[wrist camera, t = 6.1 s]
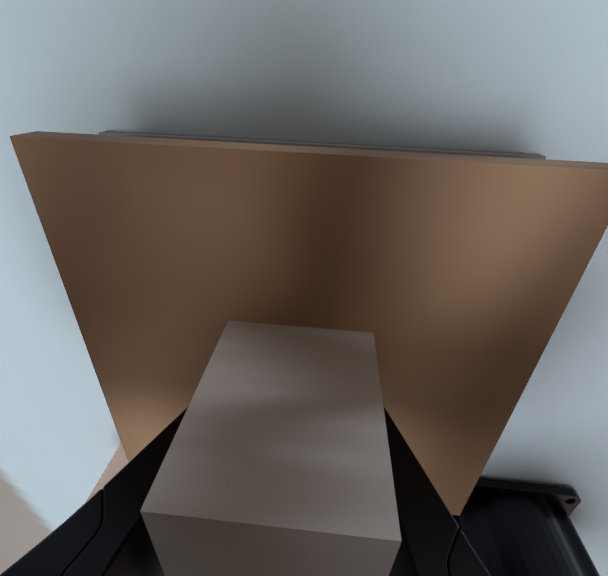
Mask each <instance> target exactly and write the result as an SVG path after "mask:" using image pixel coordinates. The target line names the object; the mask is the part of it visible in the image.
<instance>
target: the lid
mask: <svg viewBox="0 0 608 576" xmlns="http://www.w3.org/2000/svg"><path fill="white" fill-rule="evenodd" d="M10 139H11V141H12V144H13V147H14V150H15V152H16V155H17V158H18V161H19V163H20V166H21V169H22V172H23V174H24V177H25V180H26V183H27V185H28V188H29V191H30V194H31V196H32V199H33V202H34V204H35V207H36V210H37V213H38V215H39V218H40V221H41V224H42V226H43V229H44V232H45V235H46V237H47V240H48V243H49V246H50V248H51V251H52V254H53V257H54V259H55V262H56V265H57V268H58V270H59V273H60V276H61V279H62V281H63V284H64V287H65V289H66V292H67V295H68V298H69V300H70V303H71V306H72V309H73V311H74V314H75V317H76V320H77V322H78V325H79V328H80V331H81V333H82V336H83V339H84V342H85V344H86V347H87V350H88V353H89V355H90V358H91V361H92V364H93V366H94V369H95V372H96V375H97V377H98V380H99V383H100V385H101V388H102V391H103V394H104V396H105V399H106V402H107V405H108V407H109V410H110V413H111V416H112V418H113V421H114V424H115V427H116V429H117V432H118V435H119V438H120V440H121V443H122V446H123V449H124V451H125V454H126V457H127V460H128V462H130V461H131V460H132V459H133V458H134V457H135V456H136V455H137V454H138V453H139V452H140V451H141V450H142V449H144V448H145V447H146V446H147V445H148V444H149V443H150V442H151V441H152V440H153V439H154V438H155V437H156V436H157V435H158V434H159V433H161V432H162V431H163V430H164V429H165V428H166V427H167V426H168V425H169V424H170V423H171V422H172V421H173V420H174V419H175V418H176V417H178V416H179V415H180V414H181V413H182V412H183V411H184V410H185V409H186V408H187V407H188V408H187V411H186V413H185V415H184V417H183V419H182V421H181V423H180V426H179V428H178V430H177V432H176V434H175V436H174V439H173V441H172V443H171V445H170V447H169V449H168V452H167V454H166V456H165V458H164V460H163V462H162V465H161V467H160V469H159V471H158V473H157V475H156V478H155V480H154V482H153V484H152V486H151V488H150V491H149V493H148V495H147V497H146V499H145V501H144V504H143V506H142V508H141V510H140V512H141V515H142V517H143V520H144V523H145V525H146V528H147V530H148V533H149V536H150V538H151V541H152V544H153V546H154V549H155V551H156V554H157V557H158V559H159V562H160V565H161V567H162V570H163V572H164V575H165V576H389V574H390V571H391V568H392V566H393V563H394V560H395V558H396V555H397V552H398V550H399V547H400V544H401V542H402V541H401V533H400V526H399V518H398V511H397V503H396V496H395V489H394V481H393V474H392V466H391V459H390V451H389V444H388V436H387V429H386V421H385V414H384V407H385V409H386V410H387V412H388V413H389V415H390V417H391V418H392V420H393V421H394V423H395V425H396V426H397V428H398V429H399V431H400V433H401V434H402V436H403V437H404V439H405V441H406V442H407V444H408V445H409V447H410V449H411V450H412V452H413V453H414V455H415V457H416V458H417V460H418V461H419V463H420V465H421V466H422V468H423V470H424V471H425V473H426V474H427V476H428V478H429V479H430V481H431V482H432V484H433V486H434V487H435V489H436V490H437V492H438V494H439V495H440V497H441V498H442V500H443V502H444V503H445V505H446V506H447V508H448V510H449V511H450V513H451V514H452V515H457V516H460V514H461V512H462V510H463V508H464V506H465V504H466V502H467V500H468V498H469V496H470V494H471V492H472V490H473V488H474V487H475V485H476V483H477V481H478V479H479V477H480V475H481V473H482V471H483V469H484V467H485V465H486V463H487V461H488V459H489V457H490V455H491V453H492V451H493V449H494V447H495V445H496V443H497V441H498V439H499V438H500V436H501V434H502V432H503V430H504V428H505V426H506V424H507V422H508V420H509V418H510V416H511V414H512V412H513V410H514V408H515V406H516V404H517V402H518V400H519V398H520V396H521V394H522V392H523V390H524V389H525V387H526V385H527V383H528V381H529V379H530V377H531V375H532V373H533V371H534V369H535V367H536V365H537V363H538V361H539V359H540V357H541V355H542V353H543V351H544V349H545V347H546V345H547V343H548V341H549V340H550V338H551V336H552V334H553V332H554V330H555V328H556V326H557V324H558V322H559V320H560V318H561V316H562V314H563V312H564V310H565V308H566V306H567V304H568V302H569V300H570V298H571V296H572V294H573V292H574V291H575V289H576V287H577V285H578V283H579V281H580V279H581V277H582V275H583V273H584V271H585V269H586V267H587V265H588V263H589V261H590V259H591V257H592V255H593V253H594V251H595V249H596V247H597V245H598V243H599V242H600V240H601V238H602V236H603V234H604V232H605V230H606V228H607V226H608V163H597V162H579V161H561V160H543V159H525V158H507V157H489V156H471V155H453V154H435V153H417V152H399V151H381V150H363V149H345V148H327V147H309V146H291V145H273V144H255V143H237V142H219V141H201V140H183V139H165V138H147V137H129V136H111V135H93V134H75V133H57V132H39V131H36V132H30V133H25V134H19V135H13V136H10Z"/></svg>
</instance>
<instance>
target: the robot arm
mask: <svg viewBox="0 0 608 576" xmlns="http://www.w3.org/2000/svg"><path fill="white" fill-rule="evenodd" d="M187 408H188V407H187ZM187 408H186V409H185V410H184V411H183V412H182V413H181V414H180V415H179V416H178V417H176V418H175V419H174V420H173V421H172V422H171V423H170V424H169V425H168V426H167V427H166V428H165V429H164V430H163V431H162V432H161V433H159V434H158V435H157V436H156V437H155V438H154V439H153V440H152V441H151V442H150V443H149V444H148V445H147V446H146V447H145V448H144V449H142V450H141V451H140V452H139V453H138V454H137V455H136V456H135V457H134V458H133V459H132V460H131V461H130V462H129V463H128V464H127V465H126V466H124V467H123V468H122V469H121V470H120V471H119V472H118V473H117V474H116V475H115V476H114V477H113V478H112V479H111V480H110V481H109V482H107V483H106V484H105V485H104V486H103V489H100V490H99V491H98V492H97V493H96V494H95V495H93V496H92V497H91V498H90V499H89V500H88V501H87V502H86V503H85V504H84V505H83V506H82V507H81V508H79V509H78V510H77V511H76V512H75V513H74V514H73V515H72V516H71V517H69V518H68V519H67V520H66V521H65V522H64V523H63V524H61V525H60V526H59V527H58V528H57V529H56V530H54V531H53V532H52V533H51V534H50V535H48V536H47V537H46V538H45V539H44V540H42V541H41V542H40V543H39V544H38V545H36V546H35V547H34V548H33V549H31V550H30V551H29V552H28V553H27V554H25V555H24V556H23V557H22V558H21V559H19V560H18V561H17V562H15V563H14V564H13V565H12V566H11V567H9V568H8V569H7V570H6V571H4V572H3V573H2V574H1V575H0V576H165V575H164V572H163V570H162V567H161V565H160V562H159V559H158V557H157V554H156V551H155V549H154V546H153V544H152V541H151V538H150V536H149V533H148V530H147V528H146V525H145V523H144V520H143V517H142V515H141V512H140V510H141V508H142V506H143V504H144V501H145V499H146V497H147V495H148V493H149V491H150V488H151V486H152V484H153V482H154V480H155V478H156V475H157V473H158V471H159V469H160V467H161V465H162V462H163V460H164V458H165V456H166V454H167V452H168V449H169V447H170V445H171V443H172V441H173V439H174V436H175V434H176V432H177V430H178V428H179V426H180V423H181V421H182V419H183V417H184V415H185V413H186V411H187ZM384 414H385V421H386V429H387V436H388V444H389V451H390V459H391V466H392V474H393V481H394V489H395V496H396V503H397V511H398V518H399V526H400V533H401V541H402V542H401V544H400V547H399V550H398V552H397V555H396V558H395V560H394V563H393V566H392V568H391V571H390V574H389V576H600V575H599V573H598V571H597V569H596V567H595V566H594V564H593V562H592V560H591V558H590V556H589V554H588V552H587V550H586V548H585V546H584V545H583V543H582V541H581V539H580V537H579V535H578V533H577V531H576V529H575V527H574V525H573V524H572V522H571V520H570V518H569V515H570V514H571V513H572V512H573V510H574V509H575V508H576V507H577V505H578V504H579V503H580V501H581V499H580V497H579V496H578V494H577V492H576V491H575V490H574V489H568V488H559V487H549V486H539V485H529V484H520V483H510V482H500V481H491V480H481V479H478V481H477V483H476V485H475V487H474V488H473V490H472V492H471V494H470V496H469V498H468V500H467V502H466V504H465V506H464V508H463V510H462V512H461V514H460V516H457V515H452V514H451V513H450V511H449V510H448V508H447V506H446V505H445V503H444V502H443V500H442V498H441V497H440V495H439V494H438V492H437V490H436V489H435V487H434V486H433V484H432V482H431V481H430V479H429V478H428V476H427V474H426V473H425V471H424V470H423V468H422V466H421V465H420V463H419V461H418V460H417V458H416V457H415V455H414V453H413V452H412V450H411V449H410V447H409V445H408V444H407V442H406V441H405V439H404V437H403V436H402V434H401V433H400V431H399V429H398V428H397V426H396V425H395V423H394V421H393V420H392V418H391V417H390V415H389V413H388V412H387V410H386V409H385V407H384Z"/></svg>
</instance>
